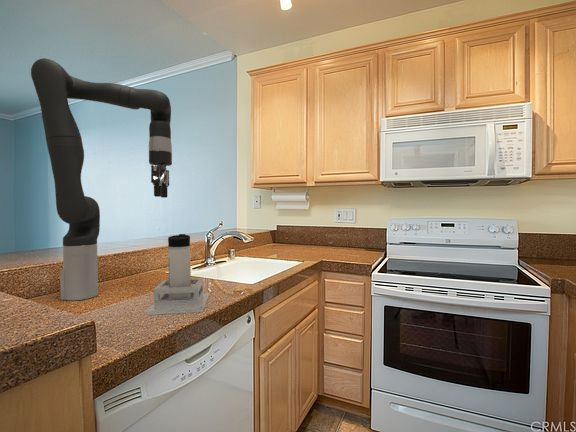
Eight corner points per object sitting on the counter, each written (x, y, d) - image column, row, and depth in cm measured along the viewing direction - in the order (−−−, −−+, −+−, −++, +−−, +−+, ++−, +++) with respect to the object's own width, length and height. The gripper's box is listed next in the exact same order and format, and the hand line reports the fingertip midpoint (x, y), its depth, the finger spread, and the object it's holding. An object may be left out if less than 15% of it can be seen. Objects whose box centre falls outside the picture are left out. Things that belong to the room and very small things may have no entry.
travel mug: (193, 297, 92) (193, 233, 92) (187, 304, 86) (186, 235, 85) (173, 298, 92) (172, 234, 92) (165, 304, 85) (164, 235, 85)
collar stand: (145, 315, 80) (145, 291, 80) (160, 298, 95) (160, 278, 95) (202, 311, 82) (202, 288, 82) (208, 296, 97) (208, 276, 97)
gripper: (155, 154, 111) (155, 197, 111) (142, 146, 97) (143, 196, 97) (175, 155, 112) (176, 197, 113) (166, 147, 98) (167, 196, 99)
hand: (161, 197), depth 105 cm, fingers open, 8 cm apart
